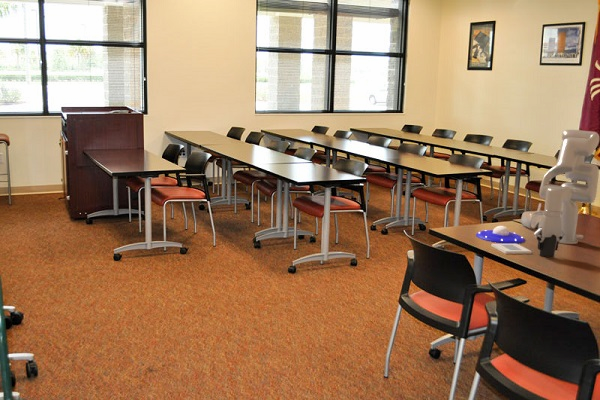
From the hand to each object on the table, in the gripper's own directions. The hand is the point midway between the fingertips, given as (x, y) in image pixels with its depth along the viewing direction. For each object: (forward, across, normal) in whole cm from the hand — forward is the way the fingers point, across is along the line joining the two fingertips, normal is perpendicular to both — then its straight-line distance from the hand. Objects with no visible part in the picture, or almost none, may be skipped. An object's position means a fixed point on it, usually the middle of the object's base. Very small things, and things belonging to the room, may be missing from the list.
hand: (547, 249), depth 312 cm
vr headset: (+4, -30, -55) cm, 63 cm away
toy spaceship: (+4, +5, -35) cm, 35 cm away
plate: (+3, +12, -12) cm, 17 cm away
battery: (+4, 0, 0) cm, 4 cm away
